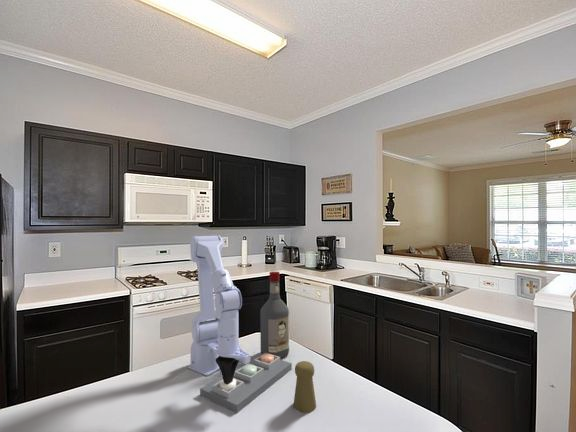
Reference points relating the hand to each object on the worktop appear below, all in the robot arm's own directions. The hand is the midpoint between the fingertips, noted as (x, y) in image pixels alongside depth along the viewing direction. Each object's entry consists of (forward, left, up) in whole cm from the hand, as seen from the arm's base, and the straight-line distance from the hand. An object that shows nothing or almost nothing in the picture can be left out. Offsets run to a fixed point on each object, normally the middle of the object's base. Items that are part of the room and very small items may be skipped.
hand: (228, 382), depth 82 cm
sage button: (0, +9, -2) cm, 9 cm away
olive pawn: (+20, +8, -4) cm, 22 cm away
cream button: (0, 0, -2) cm, 2 cm away
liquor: (-4, +28, -4) cm, 29 cm away
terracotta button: (0, +18, -2) cm, 18 cm away
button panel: (0, +9, -4) cm, 10 cm away
